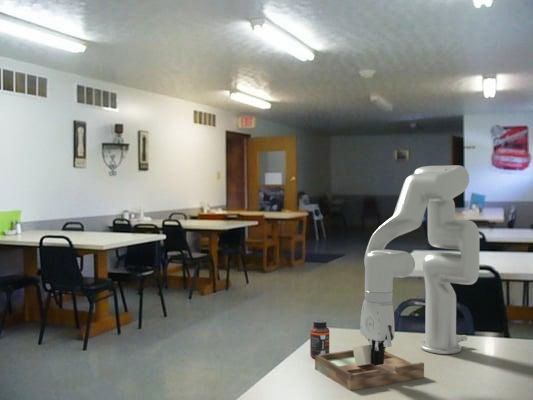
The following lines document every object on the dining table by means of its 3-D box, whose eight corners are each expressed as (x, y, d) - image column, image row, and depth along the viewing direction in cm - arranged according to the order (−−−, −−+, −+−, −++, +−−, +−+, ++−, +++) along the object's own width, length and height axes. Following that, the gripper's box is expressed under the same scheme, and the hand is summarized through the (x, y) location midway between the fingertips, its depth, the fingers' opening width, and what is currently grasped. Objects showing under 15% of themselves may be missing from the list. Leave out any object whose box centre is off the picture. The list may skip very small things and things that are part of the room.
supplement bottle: (328, 360, 171) (328, 323, 171) (309, 359, 172) (309, 322, 172) (330, 354, 177) (330, 319, 177) (311, 353, 178) (311, 318, 178)
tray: (383, 358, 173) (383, 345, 173) (423, 377, 156) (424, 363, 155) (315, 368, 163) (315, 355, 163) (350, 390, 146) (350, 375, 146)
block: (370, 363, 160) (367, 345, 161) (380, 362, 156) (376, 343, 157) (356, 365, 158) (352, 347, 159) (365, 364, 153) (362, 345, 155)
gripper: (351, 293, 159) (350, 358, 159) (383, 303, 145) (382, 373, 145) (373, 292, 162) (372, 355, 162) (407, 301, 148) (405, 370, 148)
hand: (377, 364), depth 154 cm, fingers closed
